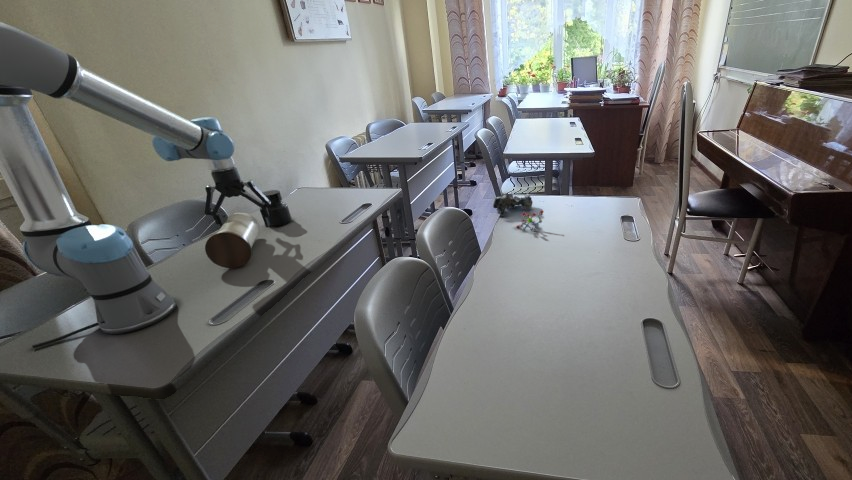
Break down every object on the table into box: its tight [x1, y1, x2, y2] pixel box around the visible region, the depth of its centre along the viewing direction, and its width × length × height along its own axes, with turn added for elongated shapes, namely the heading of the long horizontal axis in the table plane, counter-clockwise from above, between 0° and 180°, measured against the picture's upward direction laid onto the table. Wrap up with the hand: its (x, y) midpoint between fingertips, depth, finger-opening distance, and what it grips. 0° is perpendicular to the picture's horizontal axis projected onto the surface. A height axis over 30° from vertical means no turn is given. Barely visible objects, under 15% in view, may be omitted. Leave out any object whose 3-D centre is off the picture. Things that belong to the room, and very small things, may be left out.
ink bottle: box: [261, 189, 293, 227], centre depth 153 cm, size 10×9×12 cm
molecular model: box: [515, 209, 544, 232], centre depth 137 cm, size 7×8×8 cm
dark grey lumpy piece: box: [492, 192, 533, 218], centre depth 153 cm, size 12×11×15 cm
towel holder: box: [204, 212, 261, 269], centre depth 132 cm, size 12×29×12 cm, turn 19°
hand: (247, 229), depth 141 cm, fingers open, 13 cm apart
